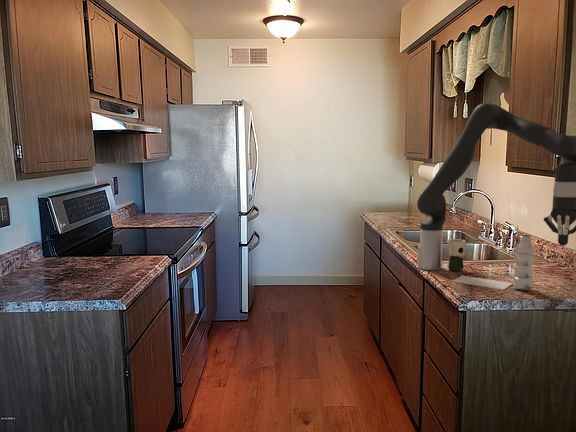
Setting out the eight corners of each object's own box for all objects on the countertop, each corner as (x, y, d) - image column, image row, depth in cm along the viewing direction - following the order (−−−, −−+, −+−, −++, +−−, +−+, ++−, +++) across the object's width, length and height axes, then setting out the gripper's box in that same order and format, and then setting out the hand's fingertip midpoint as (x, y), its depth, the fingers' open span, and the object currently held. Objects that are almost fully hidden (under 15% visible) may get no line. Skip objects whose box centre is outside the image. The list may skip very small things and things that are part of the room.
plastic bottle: (509, 289, 174) (512, 235, 171) (516, 286, 178) (519, 233, 176) (528, 293, 169) (531, 237, 166) (535, 289, 174) (538, 235, 171)
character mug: (457, 274, 197) (458, 243, 195) (441, 271, 202) (442, 241, 200) (469, 269, 204) (470, 239, 202) (454, 266, 209) (455, 237, 208)
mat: (452, 281, 186) (452, 280, 186) (462, 276, 193) (462, 275, 193) (503, 290, 173) (504, 289, 173) (512, 284, 181) (512, 283, 181)
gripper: (541, 195, 163) (538, 244, 165) (586, 196, 154) (583, 249, 156) (546, 193, 168) (544, 241, 171) (590, 195, 160) (587, 245, 162)
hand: (562, 245), depth 164 cm, fingers closed
